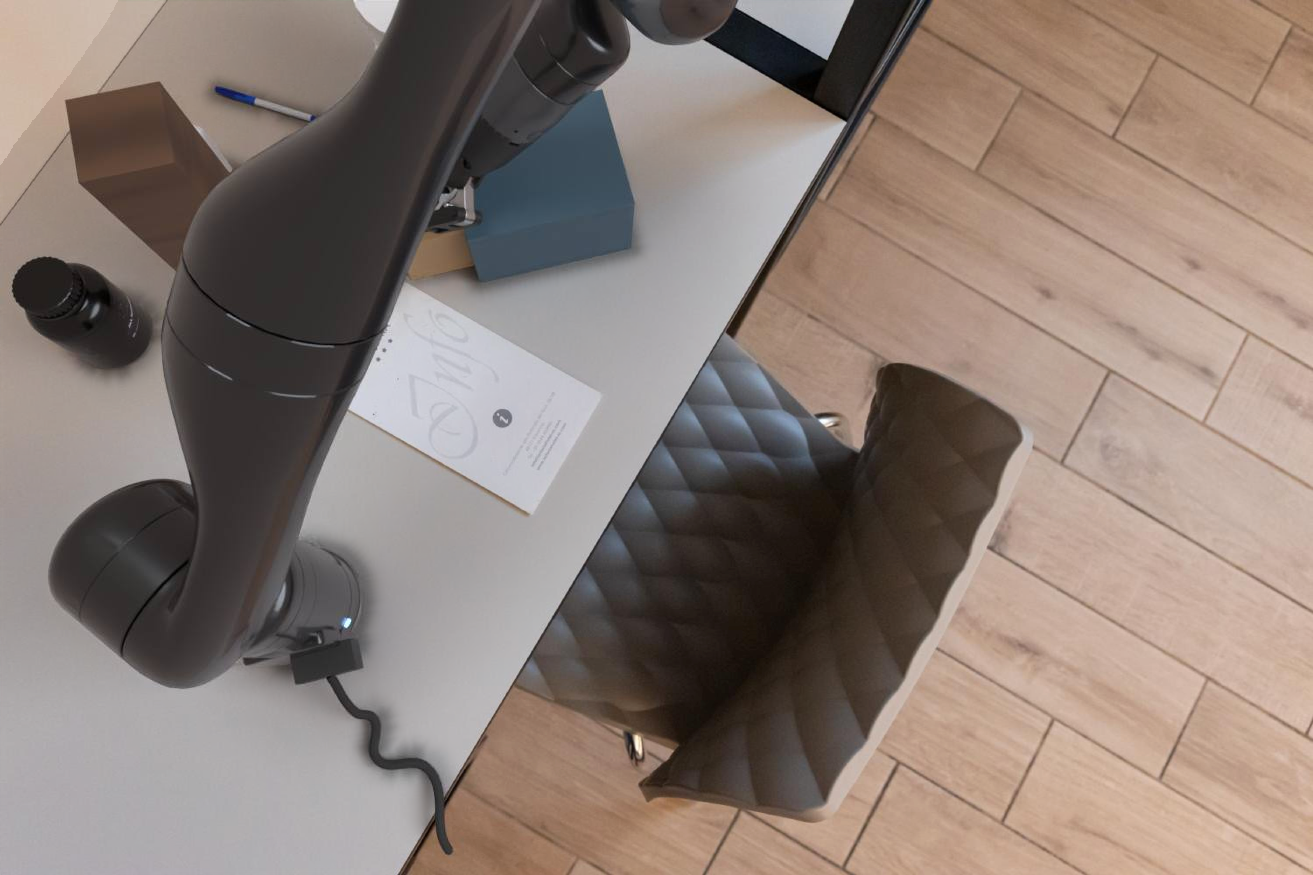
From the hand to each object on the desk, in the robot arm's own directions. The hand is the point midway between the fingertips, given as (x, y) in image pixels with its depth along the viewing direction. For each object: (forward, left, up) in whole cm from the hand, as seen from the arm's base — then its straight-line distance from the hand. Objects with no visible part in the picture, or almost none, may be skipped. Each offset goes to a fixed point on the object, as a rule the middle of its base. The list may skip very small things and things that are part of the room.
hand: (383, 203), depth 84 cm
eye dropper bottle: (+10, +17, -9) cm, 21 cm away
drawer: (0, -2, -8) cm, 8 cm away
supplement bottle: (-3, +27, -9) cm, 28 cm away
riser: (-2, +13, -8) cm, 16 cm away
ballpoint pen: (+17, +9, -9) cm, 21 cm away
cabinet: (0, -13, -8) cm, 16 cm away
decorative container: (+13, -8, -9) cm, 17 cm away
